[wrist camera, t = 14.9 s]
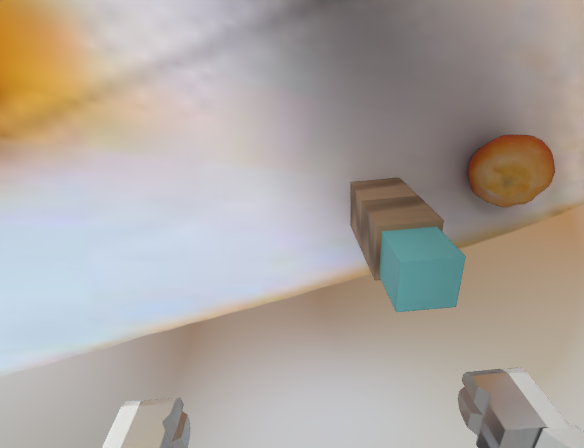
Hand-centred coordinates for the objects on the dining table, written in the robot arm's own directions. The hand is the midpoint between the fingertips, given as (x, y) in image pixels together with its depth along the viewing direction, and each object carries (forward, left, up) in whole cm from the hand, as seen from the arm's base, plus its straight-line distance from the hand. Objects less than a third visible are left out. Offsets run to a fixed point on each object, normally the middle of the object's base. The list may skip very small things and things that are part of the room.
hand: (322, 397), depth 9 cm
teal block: (+8, +10, -19) cm, 23 cm away
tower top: (+8, +10, -25) cm, 28 cm away
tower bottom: (+8, +10, -31) cm, 34 cm away
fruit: (+4, +24, -31) cm, 40 cm away
